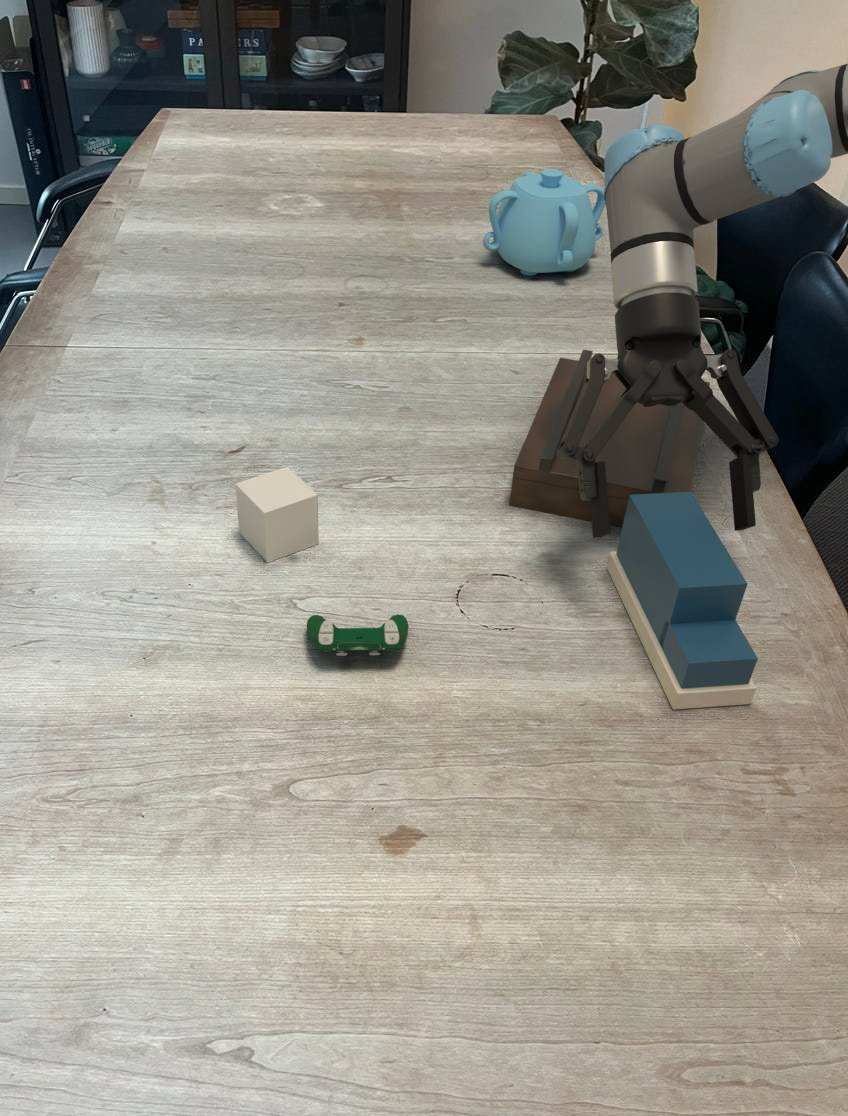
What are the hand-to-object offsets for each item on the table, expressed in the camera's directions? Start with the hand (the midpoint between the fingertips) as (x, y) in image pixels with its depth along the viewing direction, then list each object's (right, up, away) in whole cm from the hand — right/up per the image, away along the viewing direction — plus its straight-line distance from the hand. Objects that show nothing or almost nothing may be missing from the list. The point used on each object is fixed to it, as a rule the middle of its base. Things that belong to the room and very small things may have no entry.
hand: (673, 532), depth 95 cm
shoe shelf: (0, +11, +24) cm, 26 cm away
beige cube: (-37, 0, +12) cm, 39 cm away
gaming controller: (-29, -11, 0) cm, 31 cm away
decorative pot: (-1, +49, +67) cm, 83 cm away
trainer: (0, -9, +2) cm, 9 cm away
